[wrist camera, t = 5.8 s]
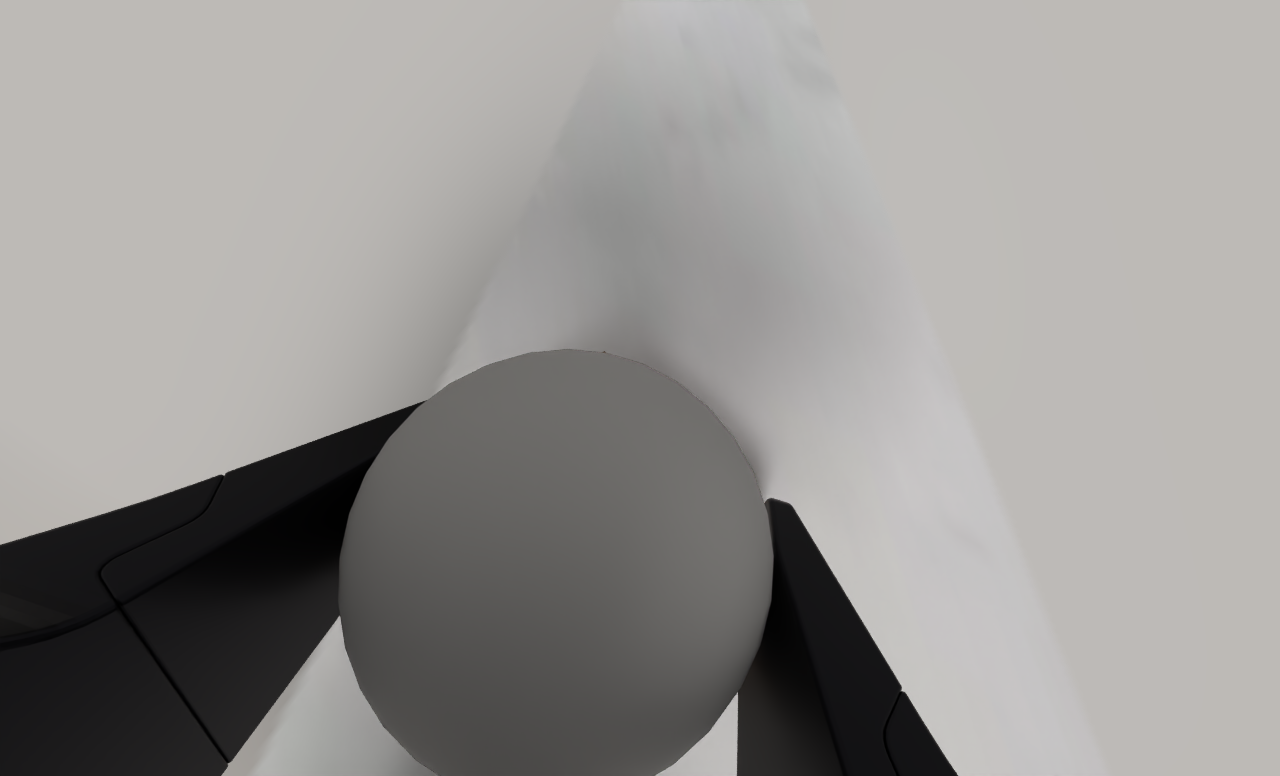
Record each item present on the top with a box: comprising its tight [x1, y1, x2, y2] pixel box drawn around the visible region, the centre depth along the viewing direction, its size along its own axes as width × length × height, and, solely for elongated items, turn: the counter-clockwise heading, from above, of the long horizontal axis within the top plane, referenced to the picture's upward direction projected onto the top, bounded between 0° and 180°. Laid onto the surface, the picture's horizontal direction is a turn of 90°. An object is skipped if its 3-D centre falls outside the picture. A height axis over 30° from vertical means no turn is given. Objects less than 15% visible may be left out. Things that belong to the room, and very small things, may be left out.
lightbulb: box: [338, 349, 774, 776], centre depth 10 cm, size 6×6×11 cm
